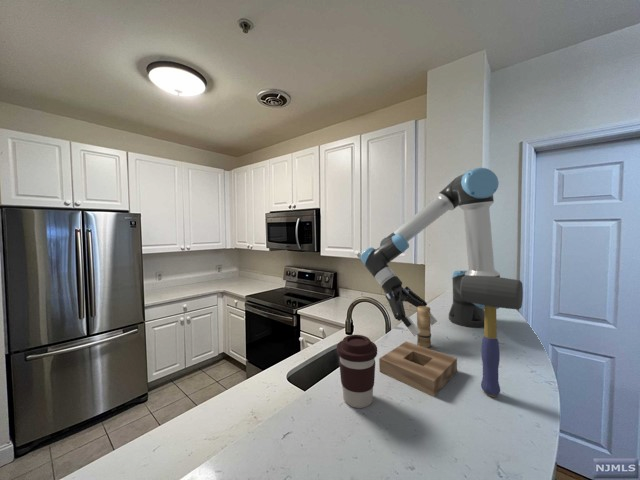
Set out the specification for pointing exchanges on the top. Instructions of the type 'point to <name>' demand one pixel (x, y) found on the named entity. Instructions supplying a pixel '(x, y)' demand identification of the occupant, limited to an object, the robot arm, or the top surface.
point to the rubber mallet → (491, 318)
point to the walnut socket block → (419, 367)
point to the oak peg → (423, 326)
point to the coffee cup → (357, 369)
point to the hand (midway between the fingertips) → (426, 328)
